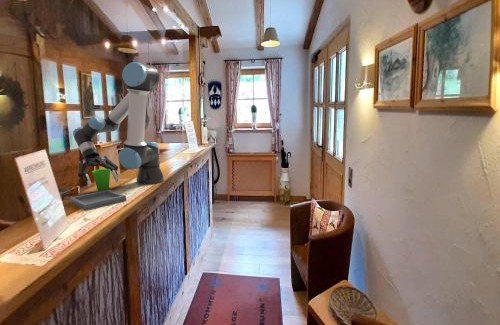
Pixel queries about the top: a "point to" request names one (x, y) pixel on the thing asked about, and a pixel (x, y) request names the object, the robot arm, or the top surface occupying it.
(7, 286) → the top surface
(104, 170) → the cup
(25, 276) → the top surface
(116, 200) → the tray
